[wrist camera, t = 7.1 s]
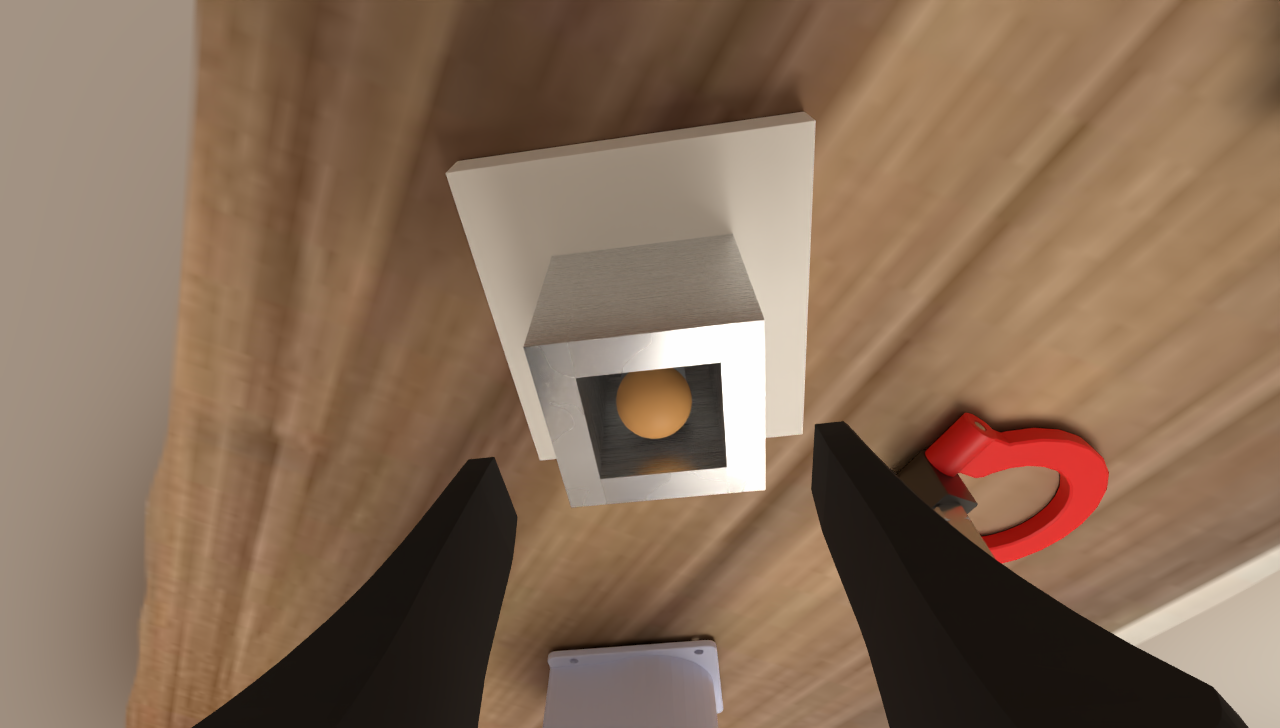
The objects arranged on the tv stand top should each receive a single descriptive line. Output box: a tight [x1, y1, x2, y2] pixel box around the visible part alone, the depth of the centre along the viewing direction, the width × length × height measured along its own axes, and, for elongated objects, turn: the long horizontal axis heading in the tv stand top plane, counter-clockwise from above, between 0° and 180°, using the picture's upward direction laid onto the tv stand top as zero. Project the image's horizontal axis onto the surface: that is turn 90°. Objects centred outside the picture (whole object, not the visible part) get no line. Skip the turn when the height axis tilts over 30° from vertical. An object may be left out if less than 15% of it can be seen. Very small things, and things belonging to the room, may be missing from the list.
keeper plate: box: [446, 112, 816, 460], centre depth 16 cm, size 10×11×6 cm
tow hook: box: [897, 413, 1109, 563], centre depth 19 cm, size 8×13×9 cm
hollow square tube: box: [523, 234, 765, 507], centre depth 16 cm, size 5×5×5 cm
